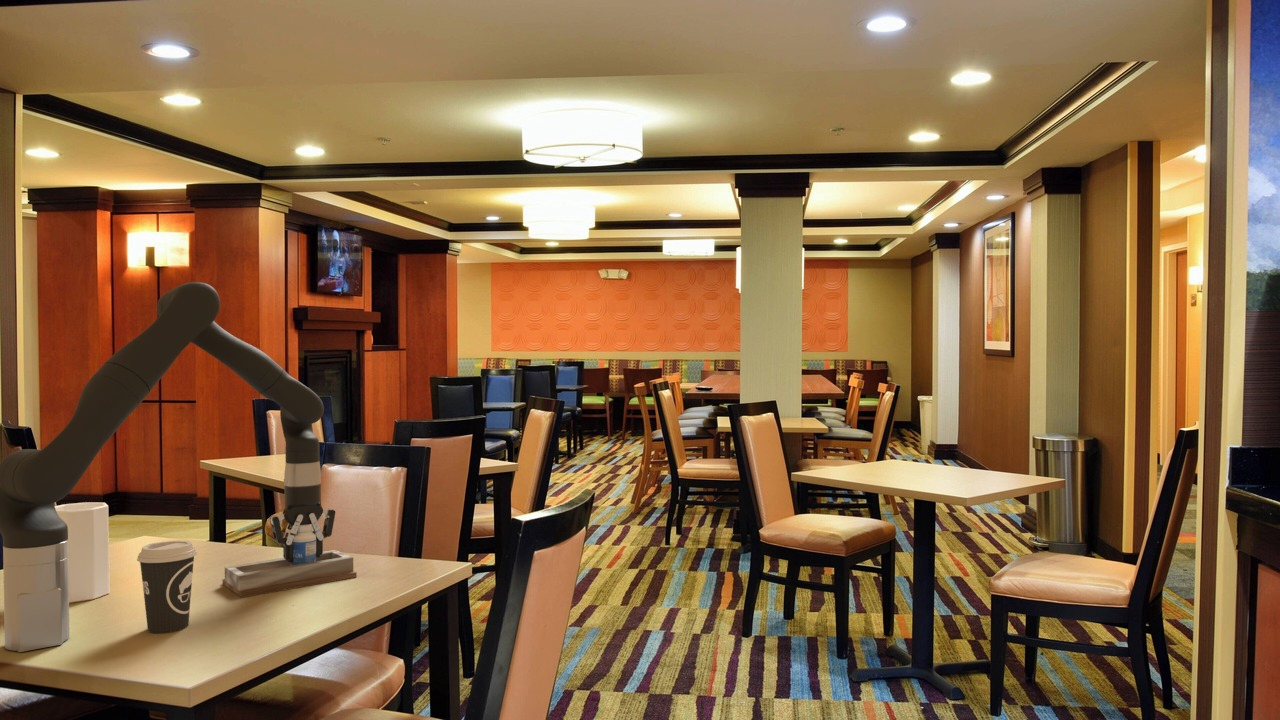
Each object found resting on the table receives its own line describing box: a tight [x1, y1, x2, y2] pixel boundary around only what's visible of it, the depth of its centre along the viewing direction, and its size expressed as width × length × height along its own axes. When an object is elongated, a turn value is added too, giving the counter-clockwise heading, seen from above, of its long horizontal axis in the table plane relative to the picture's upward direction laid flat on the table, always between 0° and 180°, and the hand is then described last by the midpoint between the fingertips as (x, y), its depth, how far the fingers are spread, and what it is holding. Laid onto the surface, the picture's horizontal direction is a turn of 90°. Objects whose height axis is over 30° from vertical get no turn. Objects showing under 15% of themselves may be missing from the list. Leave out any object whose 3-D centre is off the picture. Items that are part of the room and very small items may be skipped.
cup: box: [55, 501, 110, 604], centre depth 180 cm, size 11×11×18 cm
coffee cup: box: [136, 540, 198, 634], centre depth 158 cm, size 10×10×15 cm
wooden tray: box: [222, 549, 358, 598], centre depth 191 cm, size 14×24×4 cm, turn 130°
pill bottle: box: [290, 524, 316, 566], centre depth 193 cm, size 6×5×10 cm
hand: (303, 558), depth 193 cm, fingers closed on pill bottle, 5 cm apart
